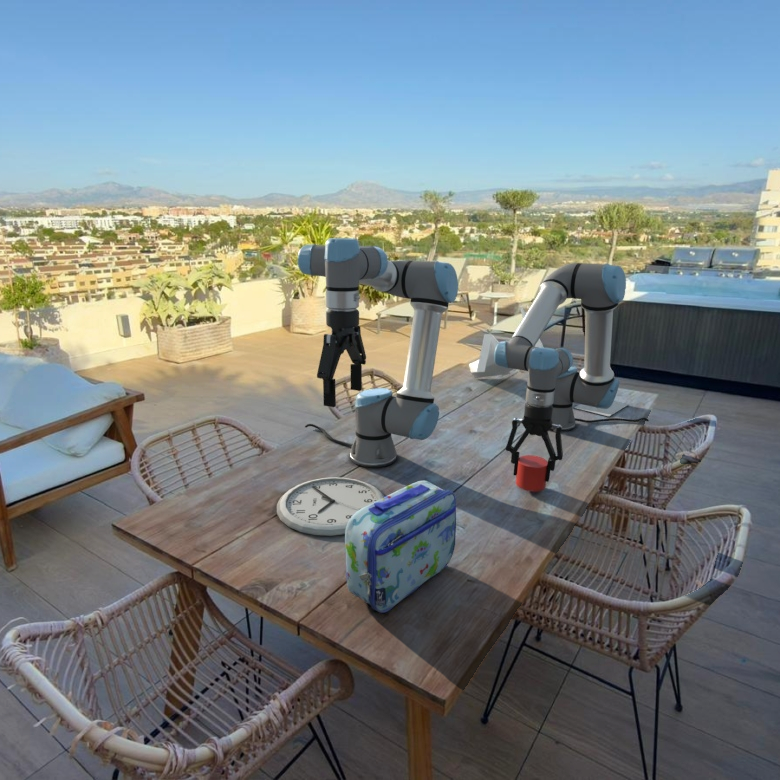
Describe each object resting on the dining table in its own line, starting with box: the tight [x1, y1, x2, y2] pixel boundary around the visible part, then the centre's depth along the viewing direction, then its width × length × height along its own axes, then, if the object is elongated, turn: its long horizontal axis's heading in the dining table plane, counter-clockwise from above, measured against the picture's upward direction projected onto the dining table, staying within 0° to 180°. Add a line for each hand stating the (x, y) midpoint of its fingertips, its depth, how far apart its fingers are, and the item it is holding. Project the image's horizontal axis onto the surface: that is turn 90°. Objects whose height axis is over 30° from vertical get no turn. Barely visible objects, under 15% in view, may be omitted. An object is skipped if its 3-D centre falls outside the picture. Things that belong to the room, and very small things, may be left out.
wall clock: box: [276, 476, 386, 537], centre depth 142 cm, size 30×2×30 cm
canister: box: [515, 454, 548, 492], centre depth 152 cm, size 8×8×8 cm
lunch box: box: [344, 480, 457, 614], centre depth 109 cm, size 26×11×21 cm, turn 135°
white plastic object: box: [468, 307, 545, 379], centre depth 257 cm, size 37×45×31 cm
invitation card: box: [573, 400, 629, 418], centre depth 226 cm, size 21×1×15 cm
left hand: (343, 397), depth 125 cm, fingers open, 13 cm apart
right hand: (531, 476), depth 153 cm, fingers closed on canister, 8 cm apart
